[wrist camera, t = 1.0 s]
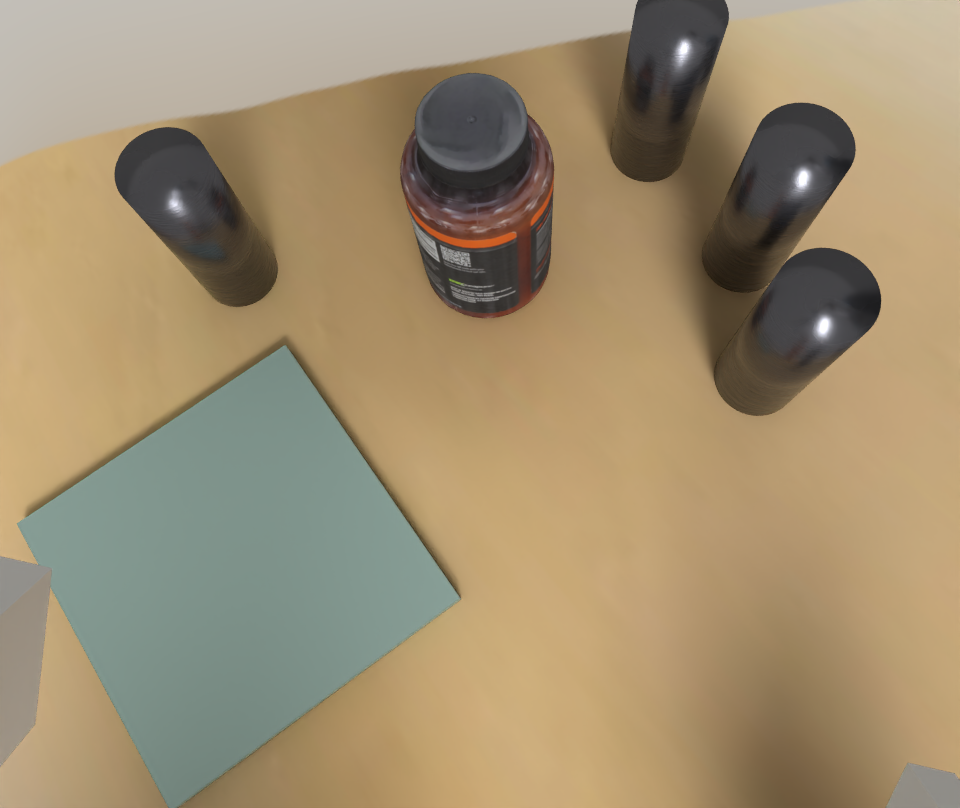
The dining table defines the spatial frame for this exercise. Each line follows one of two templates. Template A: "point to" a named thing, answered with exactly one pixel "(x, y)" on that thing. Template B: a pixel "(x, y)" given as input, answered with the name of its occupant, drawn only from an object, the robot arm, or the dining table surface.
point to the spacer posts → (639, 155)
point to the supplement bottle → (480, 195)
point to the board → (234, 573)
